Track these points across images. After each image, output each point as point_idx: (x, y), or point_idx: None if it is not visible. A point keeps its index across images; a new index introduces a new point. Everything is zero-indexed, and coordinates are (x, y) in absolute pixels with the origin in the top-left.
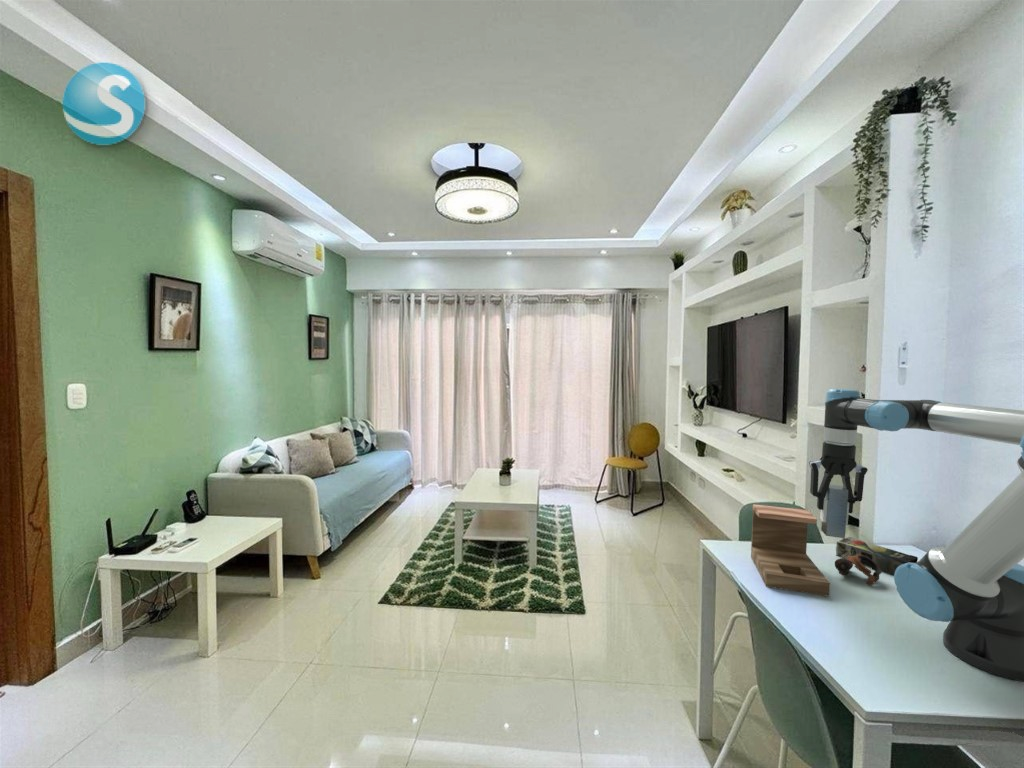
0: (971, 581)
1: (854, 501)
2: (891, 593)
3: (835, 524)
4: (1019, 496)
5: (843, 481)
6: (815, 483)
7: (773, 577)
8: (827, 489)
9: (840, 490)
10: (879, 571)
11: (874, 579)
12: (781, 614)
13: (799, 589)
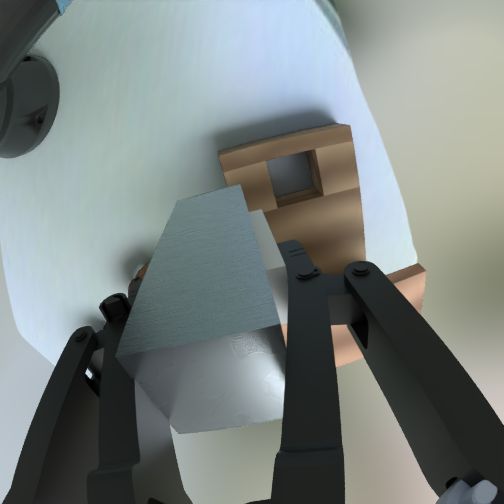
0: None
1: (103, 309)
2: (116, 250)
3: (210, 208)
4: None
5: (163, 454)
6: (412, 331)
7: (333, 127)
8: (289, 332)
9: (178, 339)
10: (129, 292)
11: (139, 272)
12: (308, 20)
13: (276, 136)
